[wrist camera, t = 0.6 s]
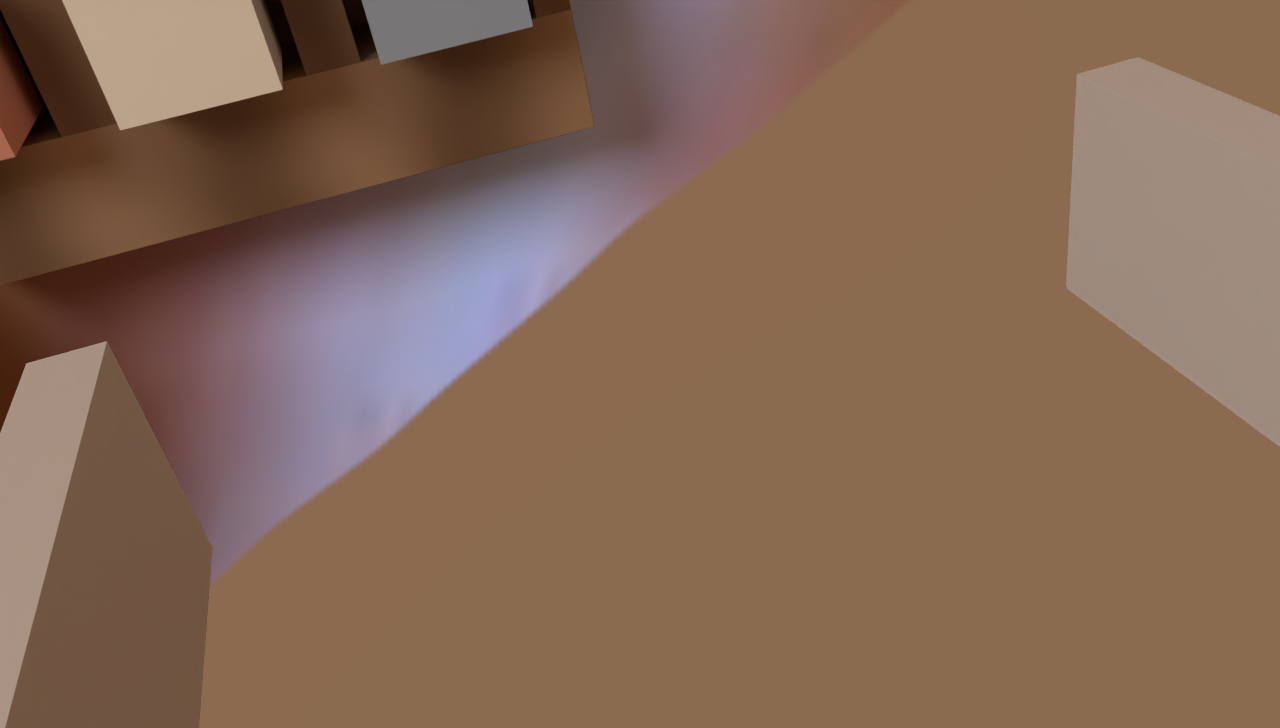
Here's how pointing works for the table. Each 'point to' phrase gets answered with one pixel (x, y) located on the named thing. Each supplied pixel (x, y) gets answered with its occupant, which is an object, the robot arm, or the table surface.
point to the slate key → (439, 24)
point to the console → (266, 129)
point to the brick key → (14, 99)
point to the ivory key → (177, 54)
